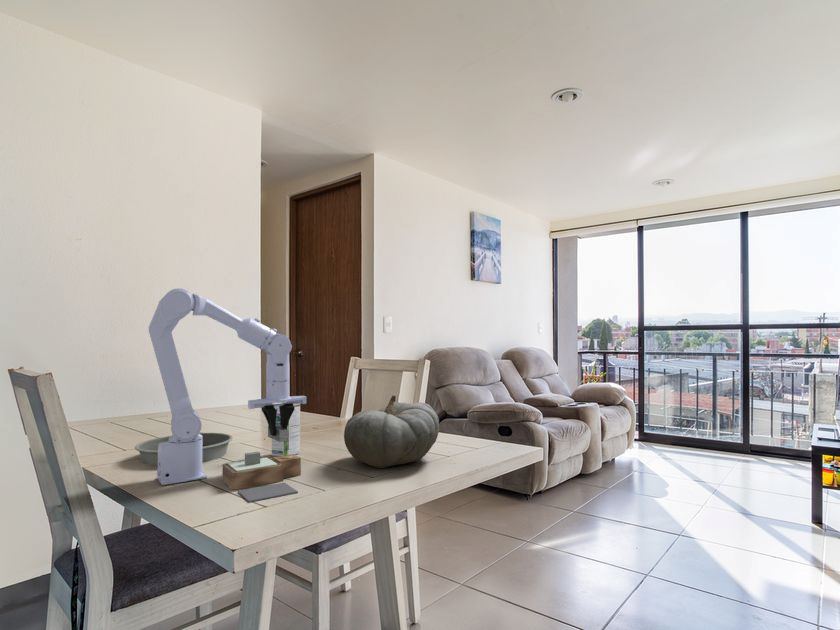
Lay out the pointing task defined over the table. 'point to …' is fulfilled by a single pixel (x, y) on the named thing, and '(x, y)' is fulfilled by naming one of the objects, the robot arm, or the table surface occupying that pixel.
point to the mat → (267, 492)
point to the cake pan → (211, 447)
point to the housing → (263, 473)
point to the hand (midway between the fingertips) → (278, 434)
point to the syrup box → (293, 434)
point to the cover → (251, 462)
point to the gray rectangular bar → (279, 434)
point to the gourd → (392, 434)
